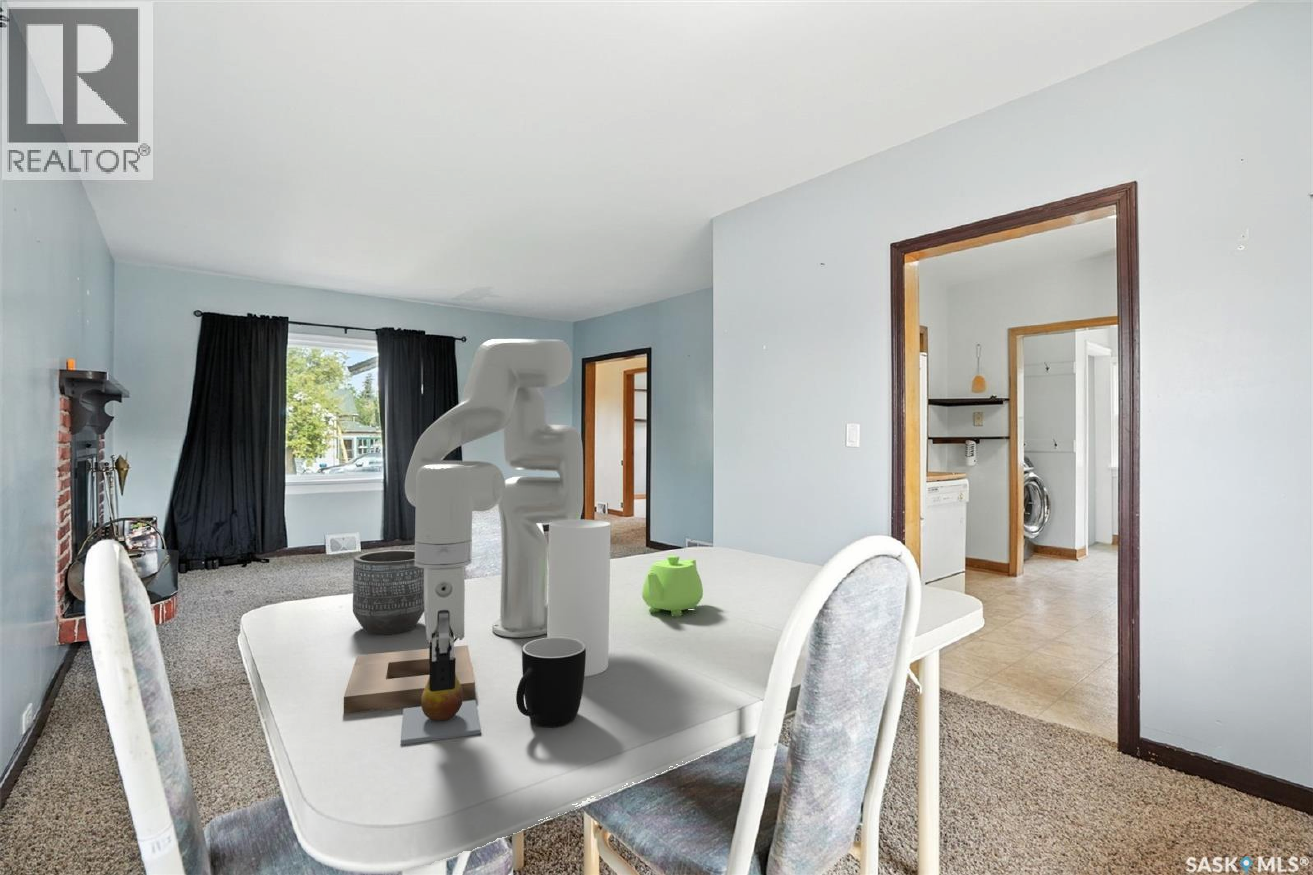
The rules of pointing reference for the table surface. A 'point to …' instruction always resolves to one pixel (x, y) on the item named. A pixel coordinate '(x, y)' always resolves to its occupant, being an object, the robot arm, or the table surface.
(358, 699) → the block with square hole
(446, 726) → the coaster
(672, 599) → the teapot
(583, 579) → the tall pillar cylinder
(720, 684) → the table surface
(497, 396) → the robot arm
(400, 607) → the planter
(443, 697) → the fruit
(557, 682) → the mug
